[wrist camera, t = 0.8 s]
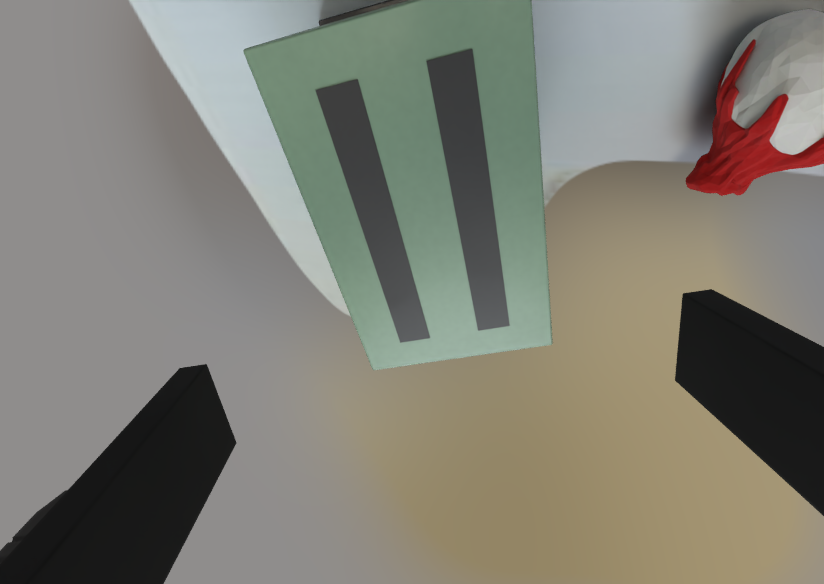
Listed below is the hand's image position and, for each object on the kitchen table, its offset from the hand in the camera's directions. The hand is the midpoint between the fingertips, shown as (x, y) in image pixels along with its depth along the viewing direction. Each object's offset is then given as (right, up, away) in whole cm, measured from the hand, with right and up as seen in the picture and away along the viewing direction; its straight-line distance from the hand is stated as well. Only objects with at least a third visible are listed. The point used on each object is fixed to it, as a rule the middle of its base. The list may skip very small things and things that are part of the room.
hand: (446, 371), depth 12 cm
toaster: (0, +15, +22) cm, 26 cm away
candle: (+25, +17, +19) cm, 36 cm away
